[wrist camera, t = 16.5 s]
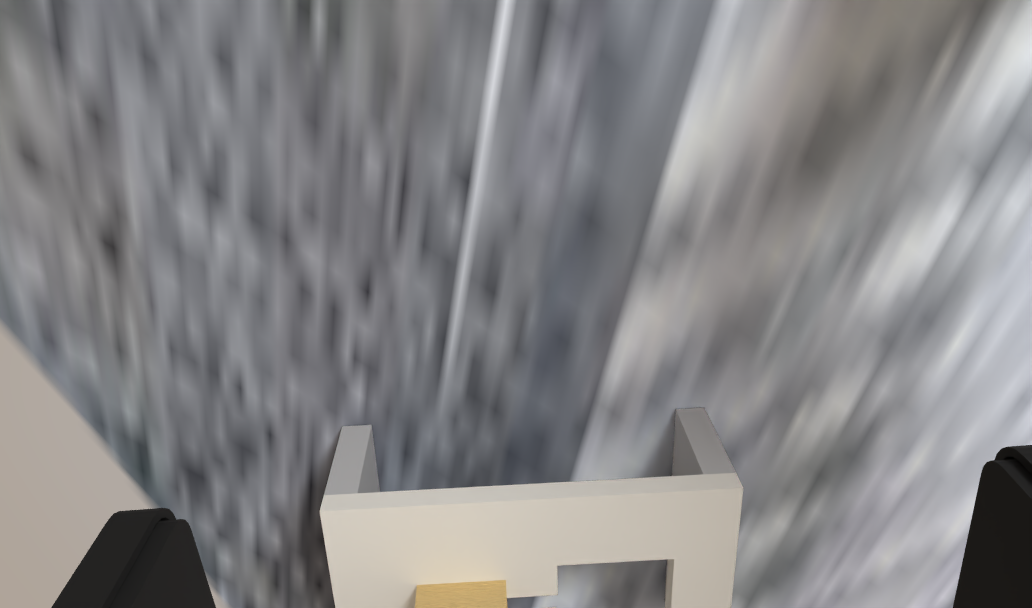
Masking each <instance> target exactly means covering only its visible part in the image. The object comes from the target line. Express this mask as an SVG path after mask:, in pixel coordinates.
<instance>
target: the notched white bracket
mask: <svg viewBox="0 0 1032 608" xmlns="http://www.w3.org/2000/svg"><path fill="white" fill-rule="evenodd" d="M742 496H743V486H742V484H741V482H740V480H739V478H738V476H737V474H736V472H735V470H734V468H733V466H732V463H731V461H730V459H729V457H728V455H727V453H726V451H725V449H724V447H723V445H722V443H721V441H720V439H719V437H718V435H717V433H716V431H715V428H714V426H713V424H712V422H711V420H710V418H709V416H708V414H707V412H706V410H705V408H685V409H676V412H675V429H674V446H673V463H672V476H666V477H648V478H630V479H612V480H593V481H575V482H557V483H538V484H520V485H502V486H483V487H465V488H447V489H429V490H410V491H392V492H380V488H379V480H378V472H377V464H376V456H375V448H374V440H373V432H372V425H360V426H342V429H341V433H340V437H339V441H338V444H337V448H336V452H335V456H334V459H333V463H332V467H331V470H330V474H329V478H328V482H327V485H326V489H325V493H324V497H323V500H322V504H321V508H320V517H321V523H322V529H323V535H324V541H325V547H326V554H327V560H328V566H329V572H330V578H331V584H332V590H333V596H334V602H335V608H415V600H416V589H417V585H426V584H443V583H461V582H478V581H495V580H506V592H507V598H515V597H532V596H549V595H558V582H557V566H561V565H578V564H595V563H613V562H630V561H647V560H665V559H667V565H666V582H665V599H664V600H665V608H731V602H732V592H733V583H734V573H735V563H736V554H737V544H738V535H739V525H740V516H741V506H742ZM548 608H556V607H548Z"/></svg>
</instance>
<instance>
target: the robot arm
mask: <svg viewBox="0 0 1032 608" xmlns="http://www.w3.org/2000/svg"><path fill="white" fill-rule="evenodd" d="M52 608H216V607H215V604H214V600H213V597H212V594H211V591H210V588H209V585H208V581H207V578H206V575H205V572H204V569H203V566H202V562H201V559H200V556H199V553H198V550H197V547H196V543H195V540H194V537H193V534H192V531H191V528H190V526H189V523H188V522H187V521H186V520H183V519H179V520H176V518H175V516H174V514H173V513H172V512H171V511H170V510H169V509H166V508H157V509H144V510H130V511H119V512H117V513H114V514H113V515H112V516H111V518H110V519H109V520H108V521H107V523H106V524H105V526H104V527H103V529H102V530H101V532H100V533H99V535H98V537H97V538H96V540H95V541H94V543H93V544H92V546H91V548H90V549H89V550H88V552H87V554H86V555H85V557H84V558H83V560H82V561H81V563H80V565H79V566H78V567H77V569H76V570H75V572H74V574H73V575H72V577H71V578H70V580H69V581H68V583H67V584H66V586H65V588H64V589H63V591H62V592H61V594H60V595H59V597H58V598H57V600H56V601H55V603H54V604H53V606H52ZM953 608H1032V445H1026V446H1012V447H1005V448H1002V449H1001V450H1000V451H999V452H998V453H997V455H996V458H995V460H994V461H989V462H987V463H986V464H985V465H984V467H983V470H982V473H981V477H980V482H979V487H978V492H977V496H976V501H975V506H974V510H973V515H972V520H971V525H970V529H969V534H968V539H967V544H966V548H965V553H964V558H963V562H962V567H961V572H960V577H959V581H958V586H957V591H956V595H955V600H954V605H953Z"/></svg>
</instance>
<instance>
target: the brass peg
mask: <svg viewBox="0 0 1032 608" xmlns="http://www.w3.org/2000/svg"><path fill="white" fill-rule="evenodd" d="M415 608H507V592H506V580H495V581H478V582H461V583H443V584H426V585H417V589H416V600H415Z"/></svg>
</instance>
